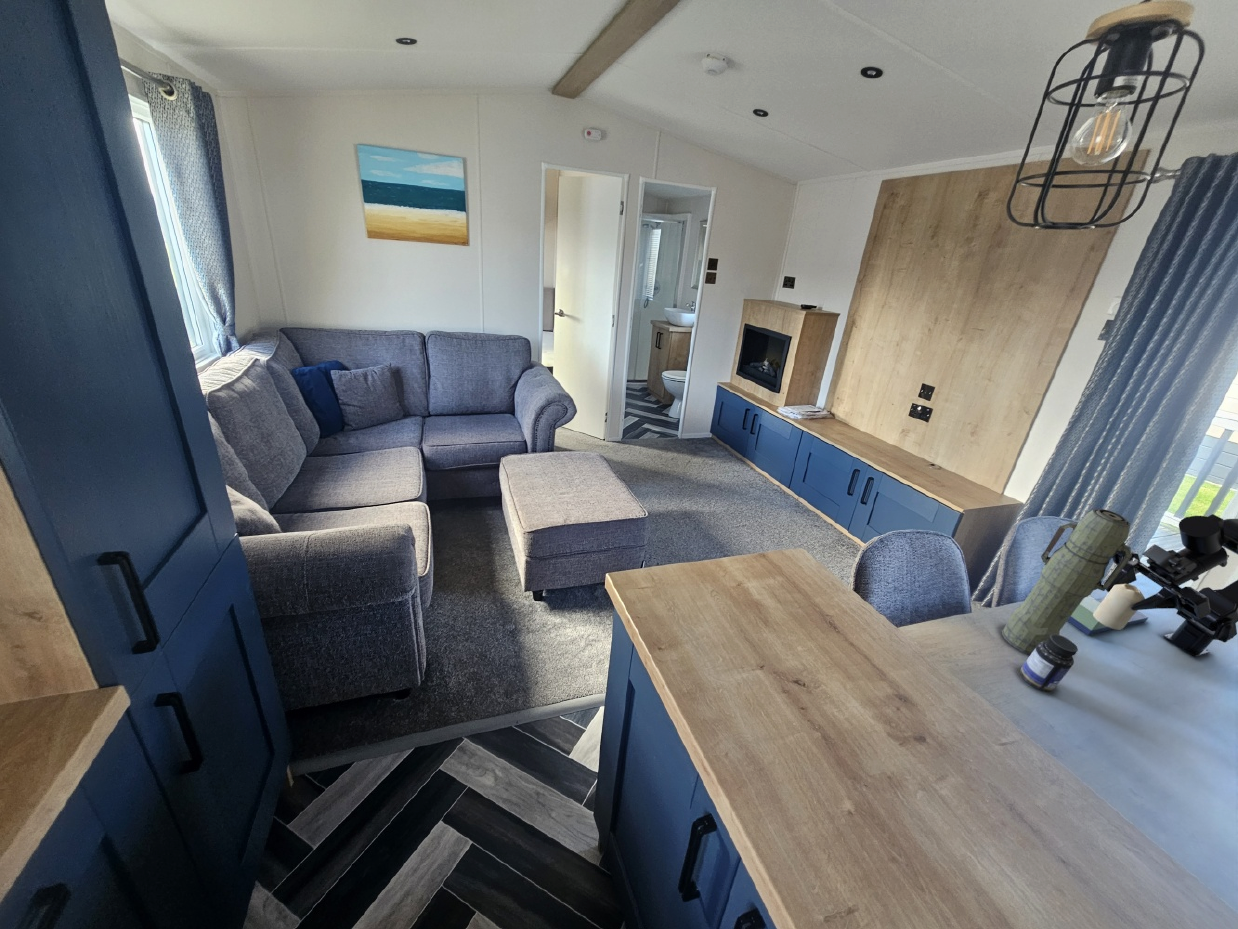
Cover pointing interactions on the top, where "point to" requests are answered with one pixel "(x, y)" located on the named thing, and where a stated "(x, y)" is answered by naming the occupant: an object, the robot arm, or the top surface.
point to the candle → (1118, 606)
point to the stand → (1087, 621)
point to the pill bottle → (1049, 662)
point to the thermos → (1069, 577)
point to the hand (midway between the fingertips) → (1118, 599)
